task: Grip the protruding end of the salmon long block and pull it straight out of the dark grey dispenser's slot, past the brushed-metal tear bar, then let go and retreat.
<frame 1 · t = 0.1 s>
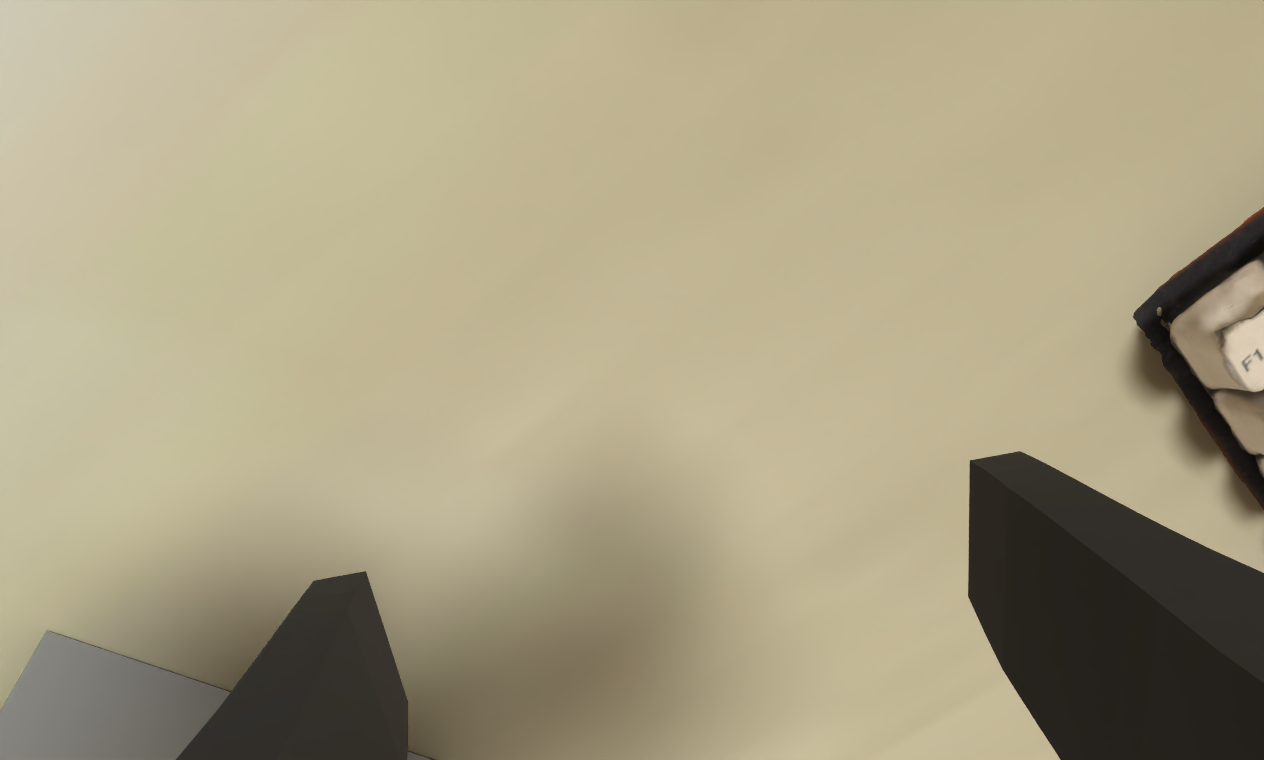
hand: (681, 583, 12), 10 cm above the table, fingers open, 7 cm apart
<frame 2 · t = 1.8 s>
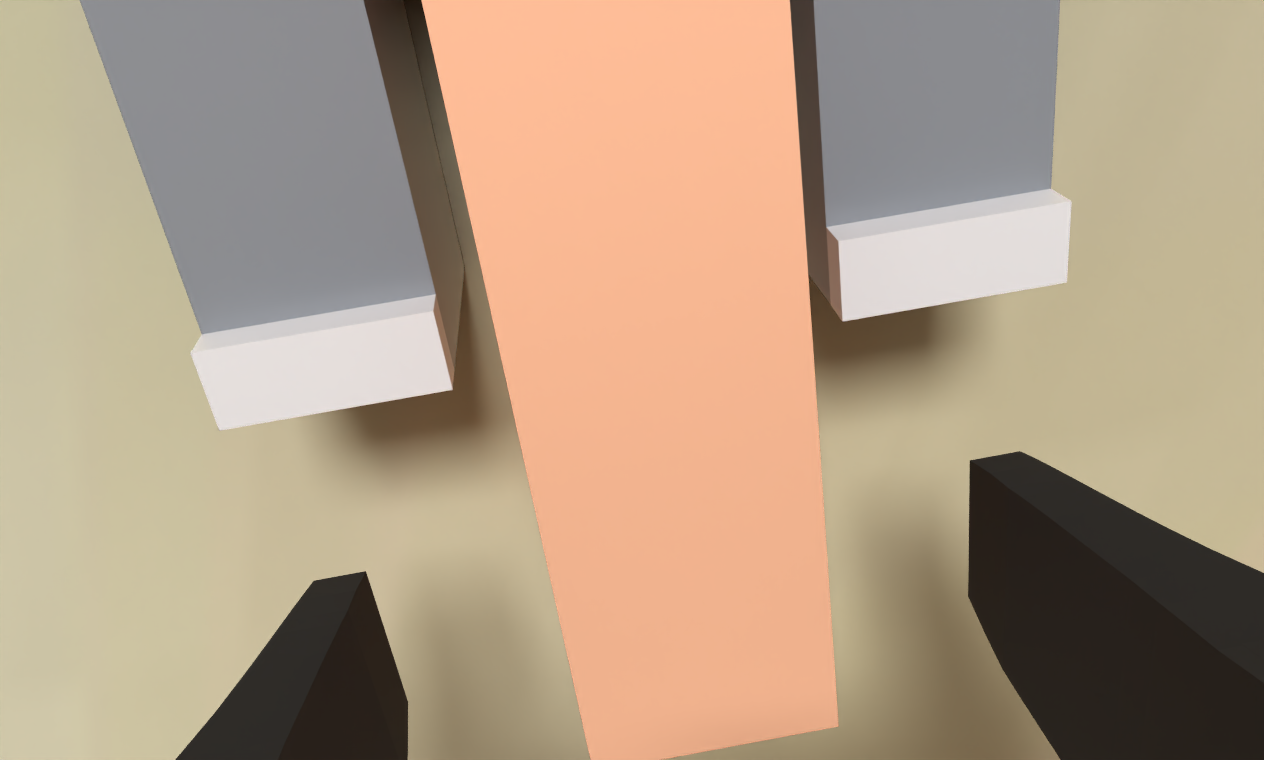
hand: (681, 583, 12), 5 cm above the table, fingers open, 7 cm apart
salmon long block: (605, 170, 15), on the table
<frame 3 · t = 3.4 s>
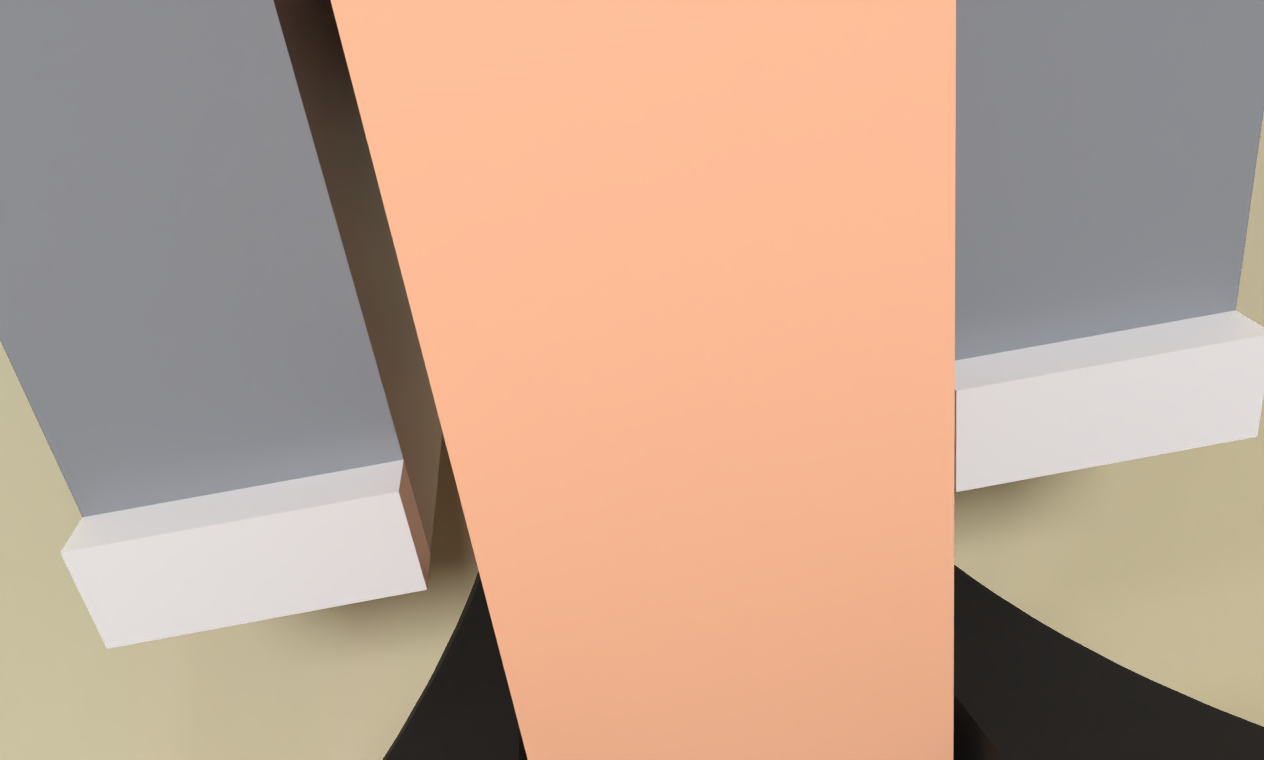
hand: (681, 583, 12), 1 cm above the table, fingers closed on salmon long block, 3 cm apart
salmon long block: (624, 257, 12), on the table, touching gripper
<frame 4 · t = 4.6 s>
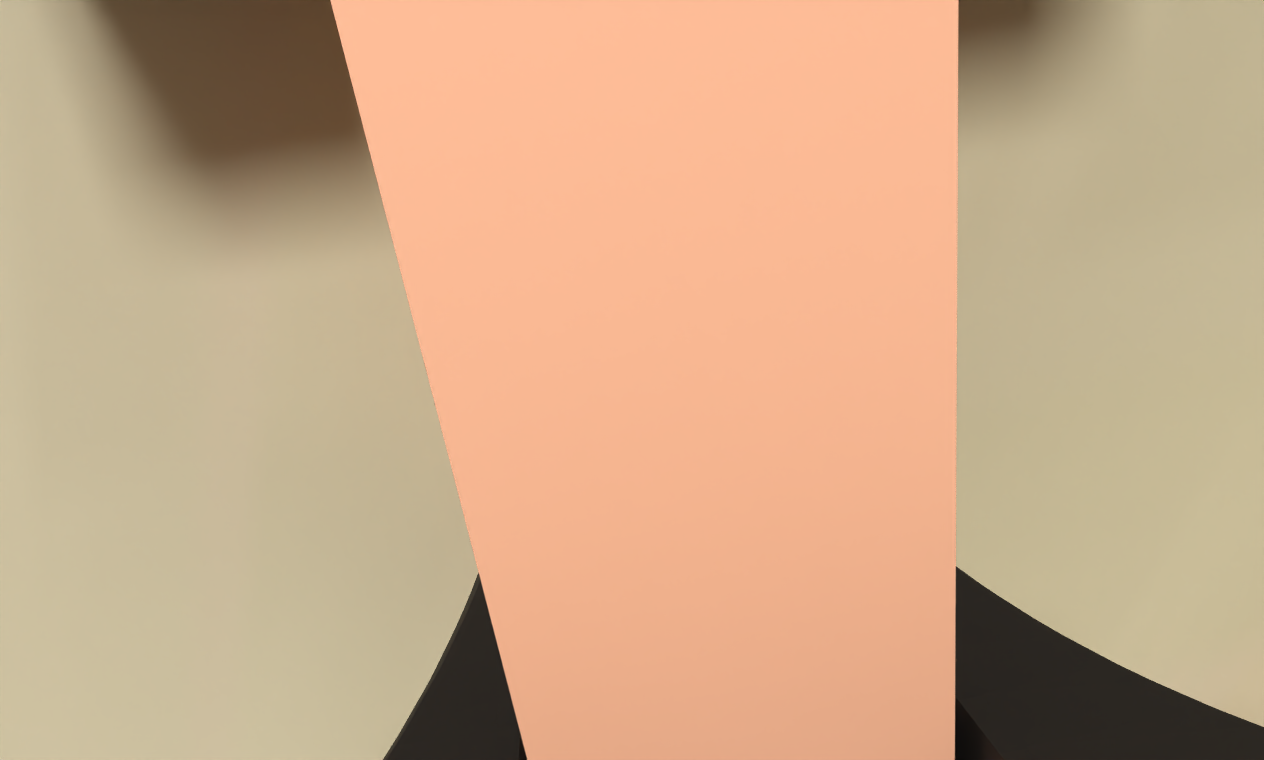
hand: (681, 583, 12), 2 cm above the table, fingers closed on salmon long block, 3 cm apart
salmon long block: (623, 254, 12), on the table, touching gripper
when the fingers open (2 cm above the table, at t = 6.2 s): salmon long block stays where it is, on the table.
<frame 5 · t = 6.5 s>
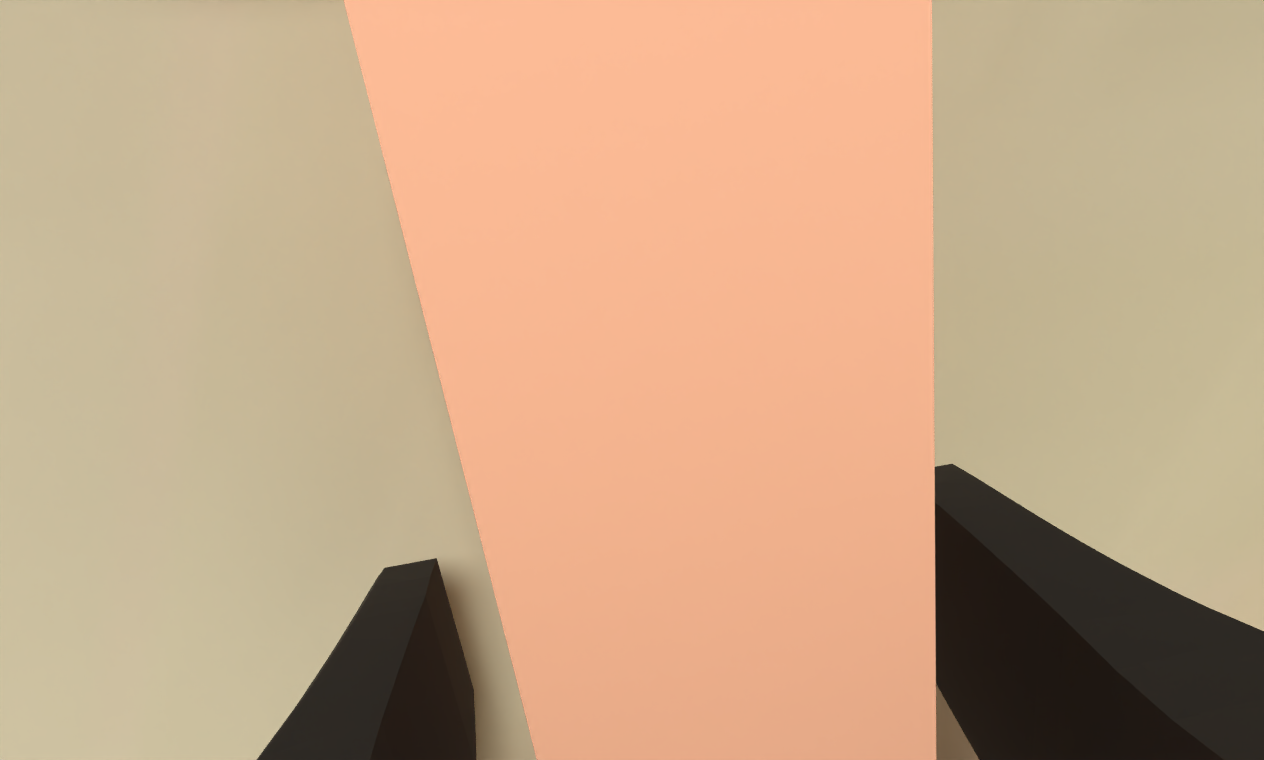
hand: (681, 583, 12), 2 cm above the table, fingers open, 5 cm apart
salmon long block: (621, 246, 12), on the table
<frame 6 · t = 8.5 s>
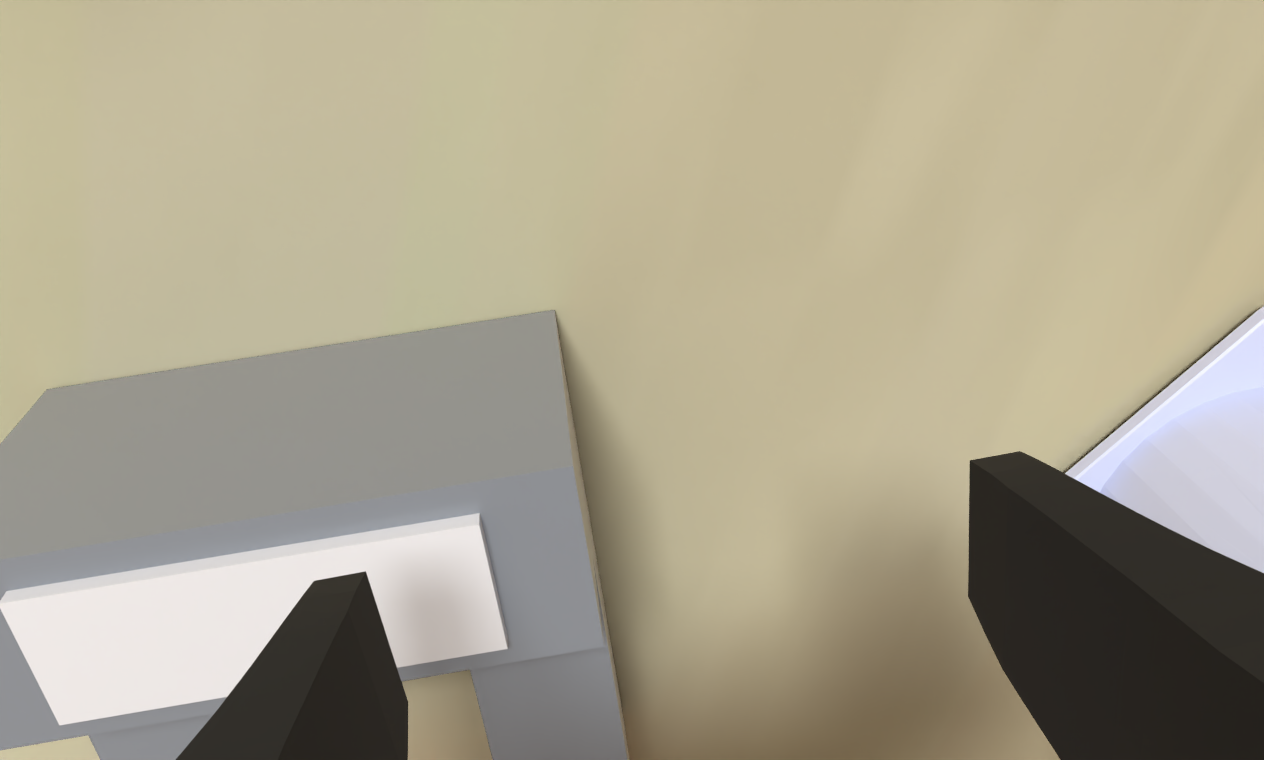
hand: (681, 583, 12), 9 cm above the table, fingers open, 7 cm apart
dispenser: (374, 589, 23), on the table
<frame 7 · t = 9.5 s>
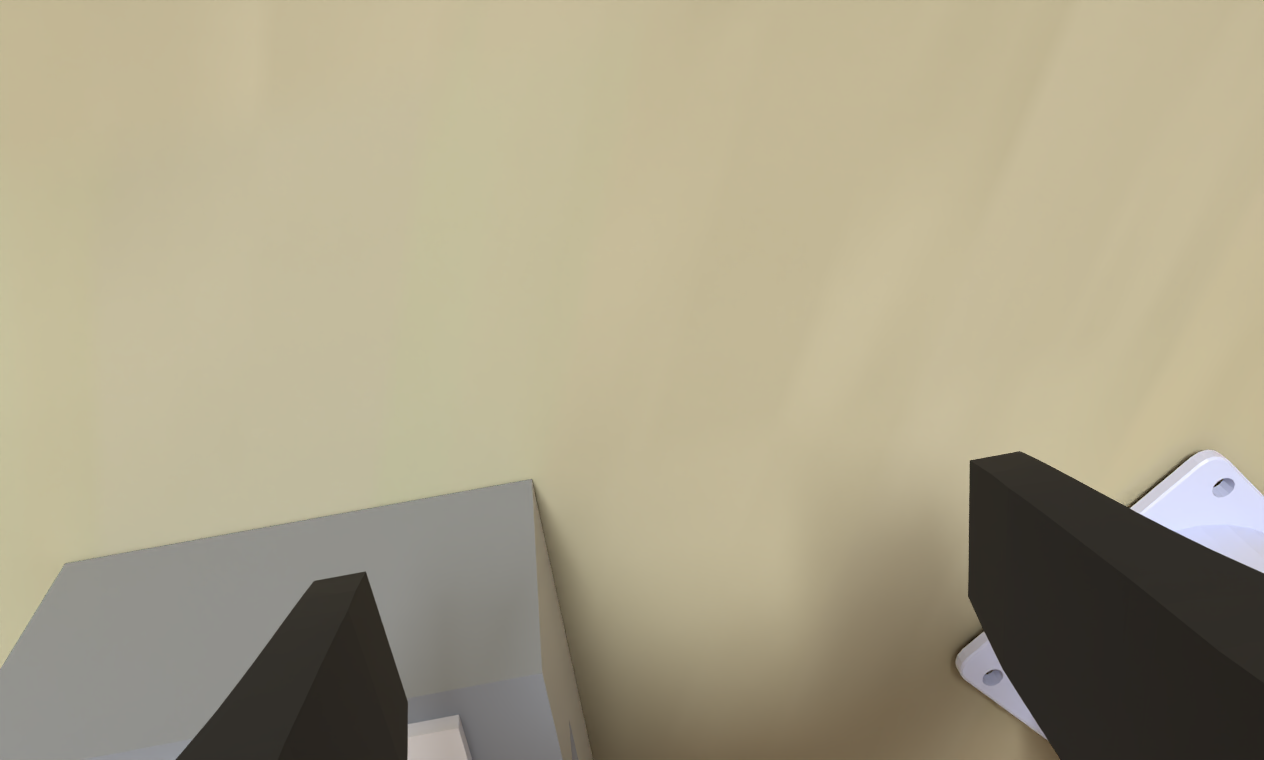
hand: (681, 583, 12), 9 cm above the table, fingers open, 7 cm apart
dispenser: (371, 725, 25), on the table
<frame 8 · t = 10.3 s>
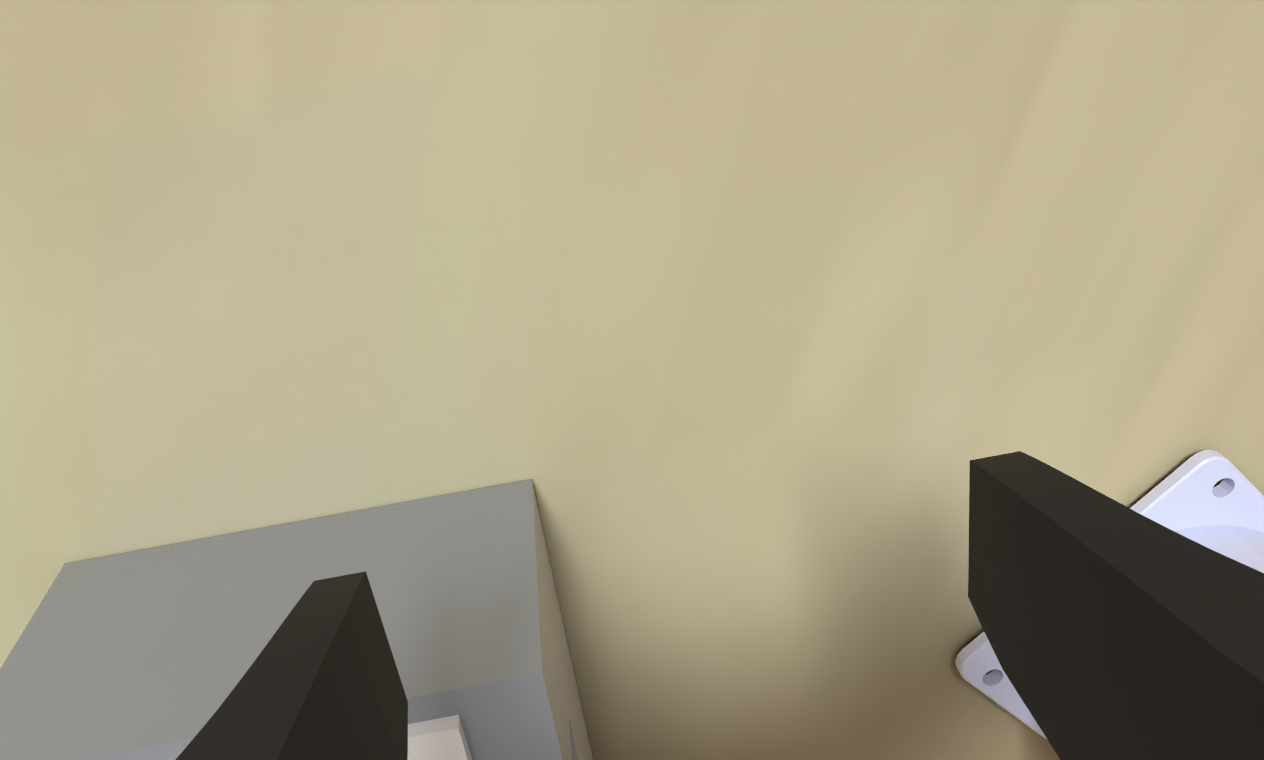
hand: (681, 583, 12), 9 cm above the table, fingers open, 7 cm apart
dispenser: (371, 725, 25), on the table
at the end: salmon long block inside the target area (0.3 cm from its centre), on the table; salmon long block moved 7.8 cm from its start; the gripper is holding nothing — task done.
